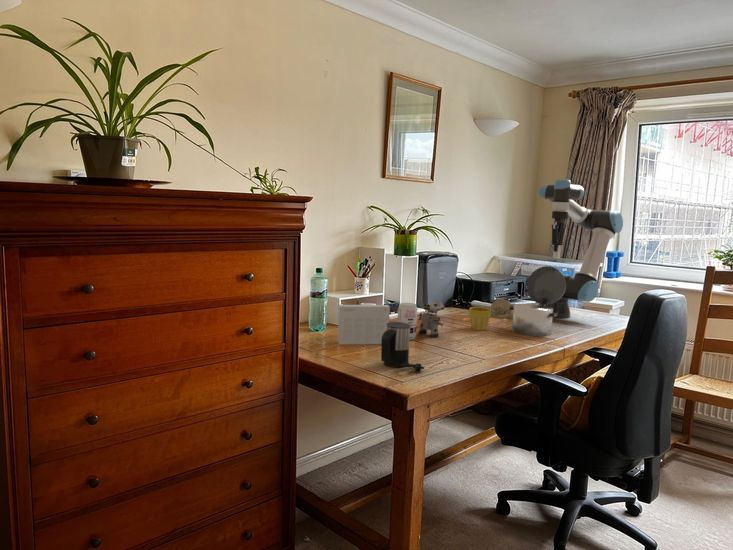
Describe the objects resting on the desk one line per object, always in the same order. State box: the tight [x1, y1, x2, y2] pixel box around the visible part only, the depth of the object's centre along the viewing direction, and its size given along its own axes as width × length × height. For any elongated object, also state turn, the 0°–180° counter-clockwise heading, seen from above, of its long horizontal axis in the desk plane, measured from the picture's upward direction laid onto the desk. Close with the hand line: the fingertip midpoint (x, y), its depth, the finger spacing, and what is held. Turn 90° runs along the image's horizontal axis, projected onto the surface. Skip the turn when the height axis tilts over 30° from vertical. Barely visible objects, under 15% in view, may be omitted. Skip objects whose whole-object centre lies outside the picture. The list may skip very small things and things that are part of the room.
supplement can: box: [397, 302, 418, 341], centre depth 242 cm, size 8×8×15 cm
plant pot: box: [468, 306, 492, 331], centre depth 268 cm, size 10×10×10 cm
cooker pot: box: [510, 303, 557, 337], centre depth 267 cm, size 20×22×12 cm
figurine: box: [417, 300, 445, 338], centre depth 250 cm, size 9×12×15 cm
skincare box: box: [337, 304, 391, 345], centre depth 230 cm, size 21×5×16 cm, turn 100°
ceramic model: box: [490, 297, 513, 320], centre depth 302 cm, size 14×11×10 cm
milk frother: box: [380, 321, 425, 372], centre depth 199 cm, size 14×16×15 cm
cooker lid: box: [526, 265, 566, 305], centre depth 275 cm, size 19×19×4 cm
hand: (556, 258), depth 280 cm, fingers closed
